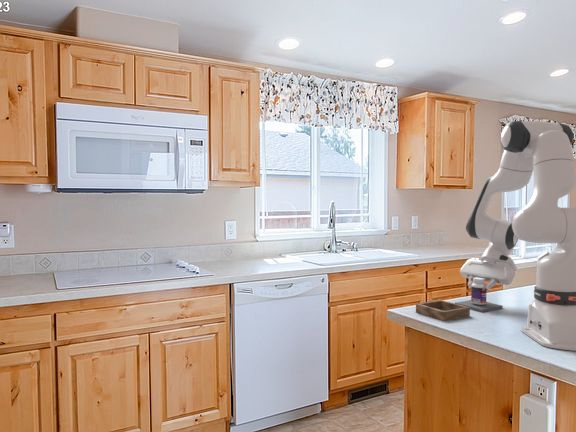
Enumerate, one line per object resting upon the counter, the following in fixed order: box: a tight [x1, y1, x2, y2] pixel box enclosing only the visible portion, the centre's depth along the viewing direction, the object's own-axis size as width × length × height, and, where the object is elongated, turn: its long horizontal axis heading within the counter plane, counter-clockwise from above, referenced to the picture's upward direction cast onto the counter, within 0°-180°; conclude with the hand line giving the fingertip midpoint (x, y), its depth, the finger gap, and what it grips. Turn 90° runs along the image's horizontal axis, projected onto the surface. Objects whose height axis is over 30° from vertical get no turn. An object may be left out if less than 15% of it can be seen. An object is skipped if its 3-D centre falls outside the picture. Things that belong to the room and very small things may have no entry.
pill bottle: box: [470, 277, 488, 305], centre depth 167 cm, size 5×5×10 cm
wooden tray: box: [415, 299, 471, 321], centre depth 157 cm, size 13×13×3 cm
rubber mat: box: [454, 299, 503, 313], centre depth 167 cm, size 12×12×1 cm
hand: (477, 288), depth 167 cm, fingers closed on pill bottle, 5 cm apart
